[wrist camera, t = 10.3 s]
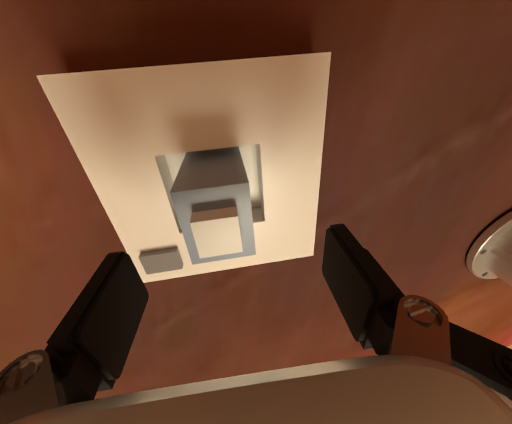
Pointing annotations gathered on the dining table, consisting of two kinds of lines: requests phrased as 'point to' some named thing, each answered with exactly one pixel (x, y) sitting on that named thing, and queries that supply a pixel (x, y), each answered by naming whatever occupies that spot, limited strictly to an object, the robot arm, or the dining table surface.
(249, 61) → the socket plate
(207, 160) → the plug
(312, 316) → the dining table surface
